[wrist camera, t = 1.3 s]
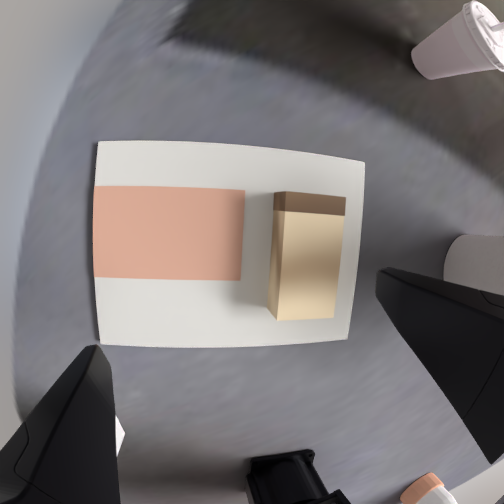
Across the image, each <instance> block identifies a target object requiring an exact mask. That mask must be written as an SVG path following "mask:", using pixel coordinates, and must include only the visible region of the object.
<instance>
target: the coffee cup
mask: <svg viewBox="0 0 504 504" xmlns="http://www.w3.org/2000/svg"><path fill="white" fill-rule="evenodd" d="M443 277H444V281H448V282H452V283H456V284H460V285H463V286H467V287H471V288H475V289H478V290H483V291H487V292H491V293H495V294H499V295H504V237H503V236H484V235H461V236H459V237H458V238H456V239H455V241H454V242H453V243H452V245H451V246H450V248H449V250H448V253H447V255H446V259H445V263H444V271H443Z"/></svg>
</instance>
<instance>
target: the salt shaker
mask: <svg viewBox="0 0 504 504" xmlns="http://www.w3.org/2000/svg"><path fill="white" fill-rule="evenodd" d="M443 486H444V485H443V483H442V482H441V481H440V480H439V479H438V478H437V477H436V476H435V475H434V474H433V473H428V474H426V475H424V476H422V477H421V478H419V479H418V480H416V481H415V482H414V483H412V484H411V485H410V486H409V487H408V488H407V489H406V490H405V491H404V492H403V493H402V495H401V497H400V500H401V501H402V503H403V504H457V502H456V500H455V499H454V497H453V496H452V495H451V494H450V493H449V492H448V491H447V490H446V489H445V488H444V487H443Z"/></svg>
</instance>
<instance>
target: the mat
mask: <svg viewBox="0 0 504 504" xmlns="http://www.w3.org/2000/svg"><path fill="white" fill-rule="evenodd" d="M364 175H365V162H361V161H356V160H350V159H344V158H339V157H333V156H326V155H320V154H313V153H306V152H299V151H291V150H283V149H275V148H266V147H256V146H246V145H234V144H220V143H204V142H183V141H99V142H98V151H97V162H96V174H95V186H94V202H93V265H94V278H95V294H96V306H97V317H98V326H99V334H100V342H101V344H108V345H124V346H144V347H185V348H209V347H250V346H271V345H287V344H301V343H313V342H324V341H334V340H344V339H347V337H348V331H349V325H350V319H351V312H352V306H353V299H354V292H355V284H356V276H357V268H358V259H359V249H360V238H361V227H362V213H363V197H364ZM282 191H291V192H302V193H312V194H322V195H331V196H340V197H346V207H345V216H344V227H343V239H342V250H341V260H340V269H339V278H338V287H337V295H336V302H335V310H334V317H333V318H322V319H305V320H284V321H277V320H276V319H275V318H274V316H273V315H272V314H271V313H270V311H269V310H268V309H267V300H268V286H269V272H270V258H271V243H272V227H273V211H274V210H273V203H274V192H282Z"/></svg>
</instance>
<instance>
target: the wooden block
mask: <svg viewBox="0 0 504 504" xmlns="http://www.w3.org/2000/svg"><path fill="white" fill-rule="evenodd" d="M345 207H346V197H340V196H331V195H322V194H312V193H302V192H291V191H282V192H274V203H273V210H274V211H273V227H272V243H271V258H270V272H269V286H268V300H267V309H268V310H269V311H270V313H271V314H272V315H273V316H274V318H275V319H276V320H277V321H284V320H305V319H322V318H333V317H334V310H335V302H336V295H337V287H338V278H339V269H340V260H341V250H342V239H343V227H344V216H345Z"/></svg>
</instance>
